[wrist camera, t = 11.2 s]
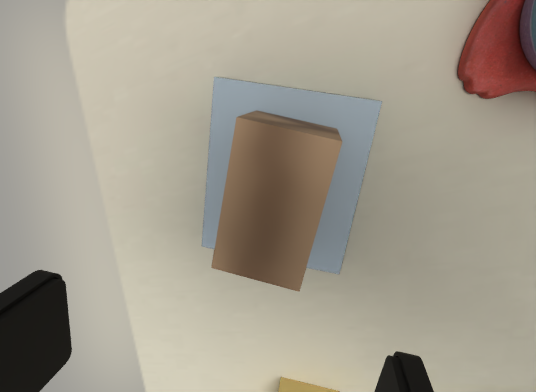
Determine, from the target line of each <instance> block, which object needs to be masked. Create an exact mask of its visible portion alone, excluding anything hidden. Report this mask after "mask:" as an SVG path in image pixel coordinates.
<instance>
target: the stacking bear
mask: <svg viewBox="0 0 536 392" xmlns="http://www.w3.org/2000/svg"><path fill="white" fill-rule="evenodd" d="M458 76H459V78H460V79H461V80H462V81H463V82H464V88H465V90H466V91H467V92H468V93H470V94H478V95H479V96H480V97H482V98H485V99H490V98H496V97H499V96H502V95H505V94H508V93H512V92H517V91H535V92H536V0H490V1H489V3H488V4H487V5H486V7H485V8H484V10H483V11H482V13H481V14H480V16H479V18H478V19H477V21H476V23H475V25H474V27H473V29H472V31H471V32H470V34H469V37H468V39H467V41H466V44H465V47H464V49H463V52H462V55H461V59H460V63H459V68H458Z"/></svg>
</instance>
